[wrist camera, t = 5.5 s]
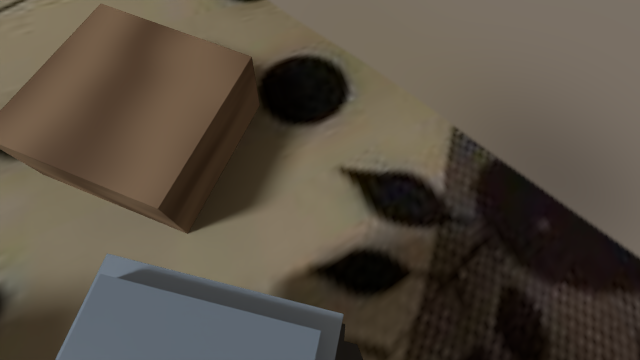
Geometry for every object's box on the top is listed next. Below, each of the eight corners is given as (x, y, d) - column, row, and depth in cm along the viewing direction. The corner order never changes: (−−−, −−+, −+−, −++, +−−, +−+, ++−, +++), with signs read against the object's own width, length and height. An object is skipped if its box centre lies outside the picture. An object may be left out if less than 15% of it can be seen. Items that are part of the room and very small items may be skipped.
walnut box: (260, 107, 24) (251, 56, 20) (188, 234, 20) (157, 208, 16) (136, 62, 25) (100, 3, 21) (46, 176, 21) (-23, 135, 17)
